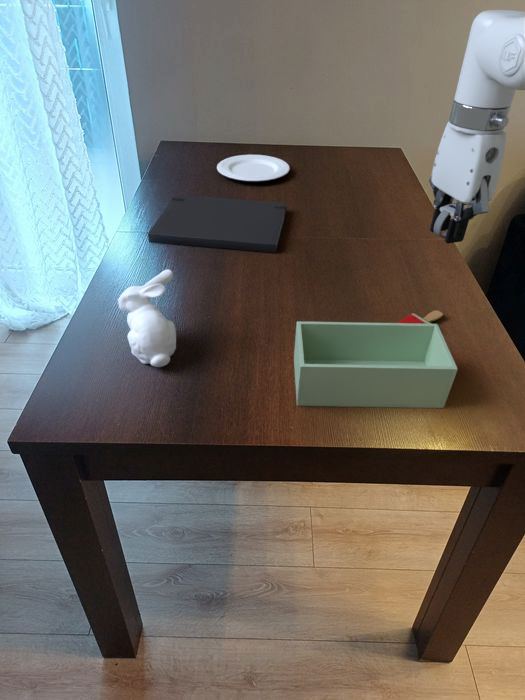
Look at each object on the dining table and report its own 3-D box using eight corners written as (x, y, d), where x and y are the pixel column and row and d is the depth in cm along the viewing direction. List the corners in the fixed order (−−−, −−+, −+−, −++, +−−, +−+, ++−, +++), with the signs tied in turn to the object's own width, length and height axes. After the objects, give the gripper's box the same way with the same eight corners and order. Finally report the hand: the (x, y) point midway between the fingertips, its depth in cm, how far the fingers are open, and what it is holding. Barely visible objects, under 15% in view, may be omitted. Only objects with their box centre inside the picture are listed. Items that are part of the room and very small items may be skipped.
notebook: (148, 242, 108) (275, 253, 105) (147, 233, 107) (276, 244, 104) (176, 202, 125) (286, 211, 122) (175, 194, 123) (287, 202, 120)
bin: (425, 361, 79) (437, 323, 74) (443, 408, 71) (458, 369, 66) (293, 359, 79) (296, 321, 74) (296, 405, 71) (300, 366, 66)
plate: (203, 169, 143) (202, 162, 142) (261, 156, 153) (261, 149, 151) (244, 192, 130) (244, 185, 129) (304, 176, 140) (304, 170, 139)
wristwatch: (440, 244, 79) (448, 215, 76) (426, 237, 81) (433, 208, 78) (464, 234, 82) (473, 206, 79) (450, 228, 84) (458, 200, 80)
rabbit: (121, 336, 83) (107, 274, 75) (174, 321, 86) (167, 260, 78) (141, 380, 74) (129, 316, 67) (200, 362, 78) (194, 299, 70)
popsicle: (451, 315, 86) (395, 348, 79) (449, 321, 87) (394, 354, 80) (430, 303, 89) (374, 334, 82) (428, 310, 90) (373, 341, 83)
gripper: (542, 130, 65) (498, 256, 76) (464, 101, 77) (436, 213, 88) (495, 135, 63) (457, 263, 74) (422, 104, 75) (399, 218, 86)
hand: (446, 235), depth 81 cm, fingers closed on wristwatch, 3 cm apart
